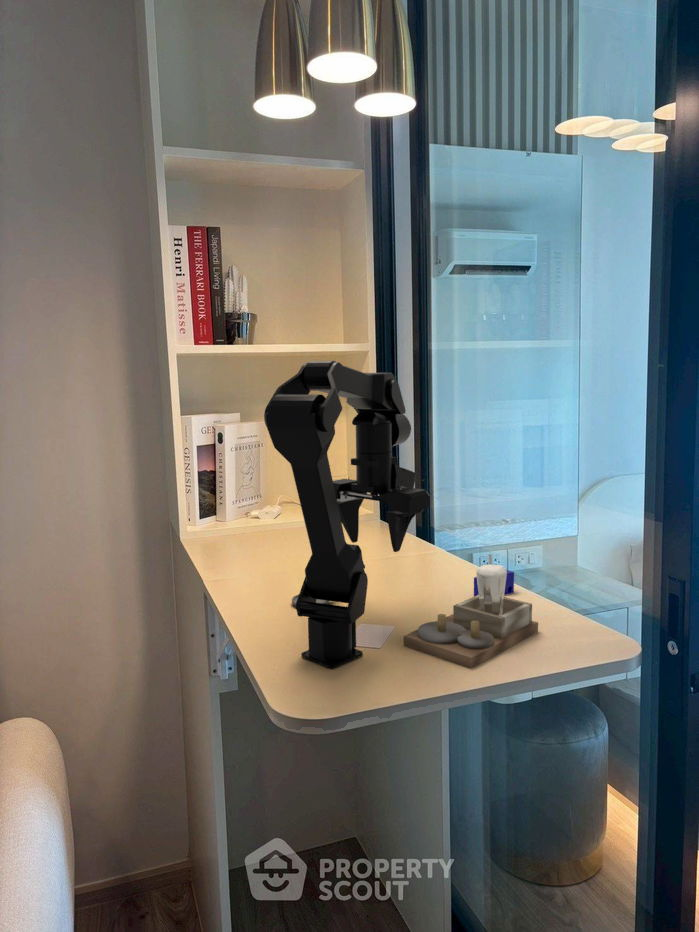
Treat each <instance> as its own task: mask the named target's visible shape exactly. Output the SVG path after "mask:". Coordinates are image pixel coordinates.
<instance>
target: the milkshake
mask: <svg viewBox="0 0 699 932" xmlns="http://www.w3.org/2000/svg"><path fill="white" fill-rule="evenodd" d="M506 570H507V569H506V568H505V566H503V565H501V564H500V565H498V564H493V554H488V564H483V565H481V566H479V567H478V568H477V570H476V577H477V584H478V591H479V604H480V611H484V612H487V613H491V614H495V615H499V616H501V615H503V603H504V597H505V595H504V592H505V584H506V576H507V571H506Z"/></svg>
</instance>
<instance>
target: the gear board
mask: <svg viewBox="0 0 699 932" xmlns="http://www.w3.org/2000/svg"><path fill="white" fill-rule="evenodd" d="M452 608H453V609H452V611H453V613H452V614H450V615H448V616H447V615H446V614H443V613H439V614H437V620H436V621H430V622H425V623H422V624H421V625H420V626H418V627H417V629H416V630H414V631H412V632H408V633H406V634H404V635H403V646H404V647H407V648H410V649H414V650H415V651H418V652H423V653H425V654H427V655H430V656H433V657H438V658H440V659H443V660H446V661H449V662H452V663H454V664H457V665H461V666H462V667H463V666H464V667H467V668H470V669H472V668H474V667H476V666H478V665H480V664H481V663H483V662H485V661H487V660H489V659H491V658H492V657H494V656H497V655H498V654H500V653H502V652H504V651H505V650H507V649H509V648H511V647H512V646H514V645H516V644H518V643H520V642H522V641H523V640H525V639H527V638H529V637H531V636H533V635H535V634H536V633H538V632H539V622H538V621H534V620H533V603H530V602H527V601H521V600H518V599H514V598H510V597H505V596H504V603H503V615H501V616H499V615H495V614H491V613H487V612H484V611H480V604H479V595H477V596H475V597H474V596H472V597H470V598H468V599H465V600H463V601H461V602H458V603H456V604H454V605H453V607H452Z"/></svg>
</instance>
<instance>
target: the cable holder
mask: <svg viewBox="0 0 699 932" xmlns="http://www.w3.org/2000/svg"><path fill="white" fill-rule="evenodd" d="M506 571H507V576H506V584H505V592H504V596H506V595H511V594H513V593H515V571H511V570H508V569H506ZM477 595H479V591H478V584H477V576H475V577H473V597H475V596H477Z"/></svg>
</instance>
